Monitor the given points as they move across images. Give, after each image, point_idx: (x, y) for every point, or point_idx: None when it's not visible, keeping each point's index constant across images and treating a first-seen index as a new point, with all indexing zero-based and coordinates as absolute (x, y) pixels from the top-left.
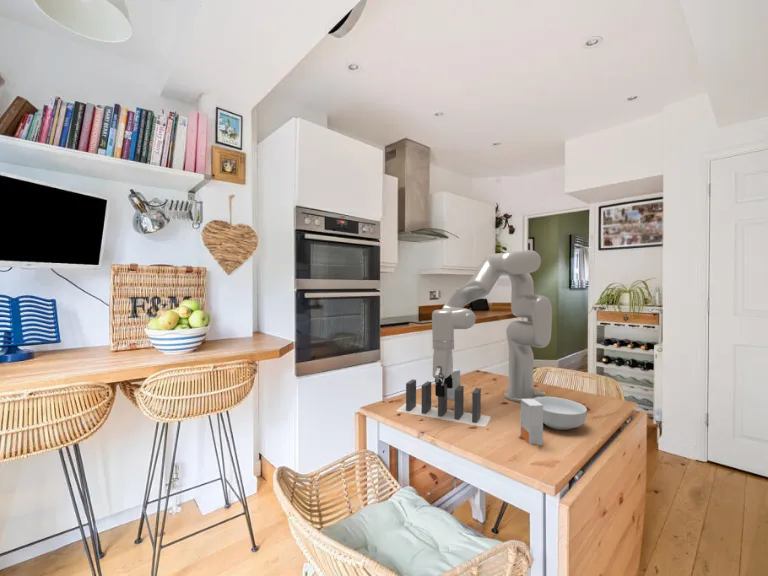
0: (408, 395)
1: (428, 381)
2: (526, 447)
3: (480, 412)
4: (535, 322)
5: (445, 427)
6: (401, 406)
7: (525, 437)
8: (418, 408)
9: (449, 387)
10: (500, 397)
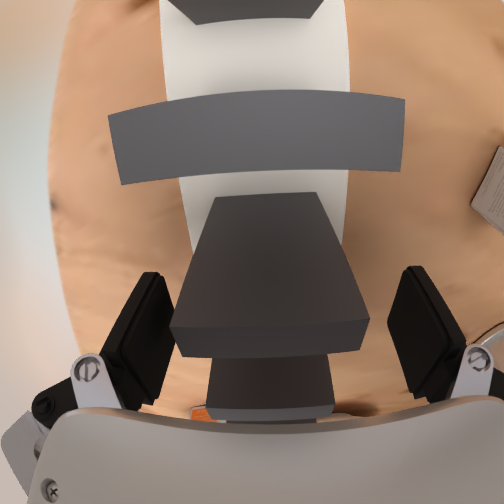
0: None
1: (403, 121)
2: (180, 404)
3: None
4: None
5: (139, 259)
6: None
7: (202, 413)
8: (275, 45)
9: (393, 312)
10: (495, 318)
